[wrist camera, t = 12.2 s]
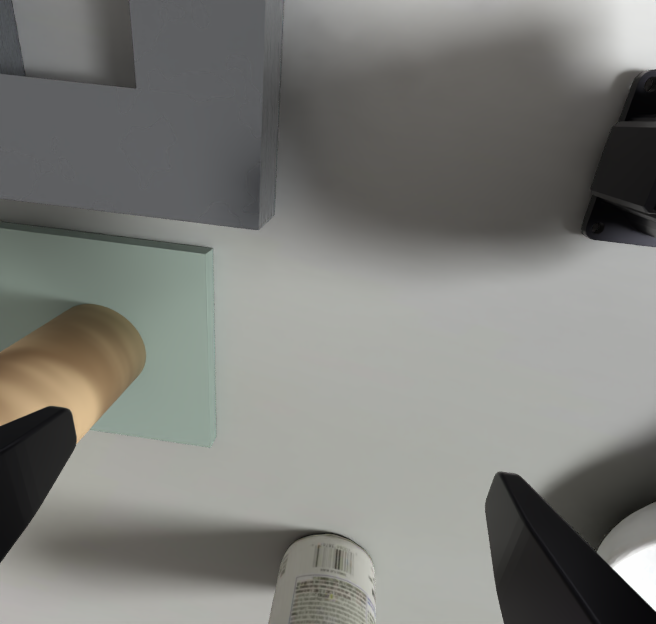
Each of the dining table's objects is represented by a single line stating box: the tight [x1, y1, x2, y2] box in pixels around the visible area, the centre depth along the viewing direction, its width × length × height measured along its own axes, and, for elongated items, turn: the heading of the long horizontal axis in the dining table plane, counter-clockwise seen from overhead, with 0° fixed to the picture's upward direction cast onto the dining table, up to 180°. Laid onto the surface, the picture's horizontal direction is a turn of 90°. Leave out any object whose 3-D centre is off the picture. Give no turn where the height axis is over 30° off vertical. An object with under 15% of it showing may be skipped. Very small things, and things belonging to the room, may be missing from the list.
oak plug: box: [0, 304, 146, 444], centre depth 19 cm, size 5×5×9 cm
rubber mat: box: [0, 222, 216, 448], centre depth 23 cm, size 12×12×1 cm
